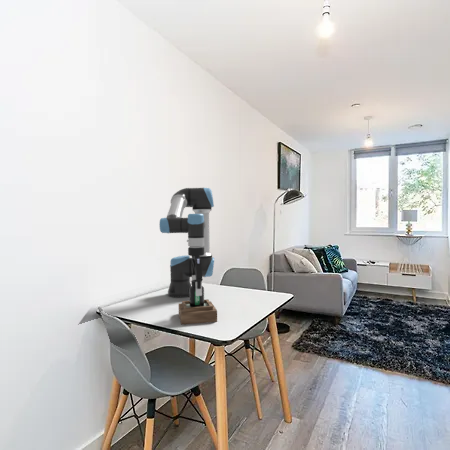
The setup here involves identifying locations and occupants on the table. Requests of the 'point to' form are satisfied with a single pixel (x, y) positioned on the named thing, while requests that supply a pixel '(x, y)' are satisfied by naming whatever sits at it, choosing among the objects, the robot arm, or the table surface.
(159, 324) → the table surface
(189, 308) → the stand
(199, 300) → the supplement bottle
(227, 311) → the table surface
